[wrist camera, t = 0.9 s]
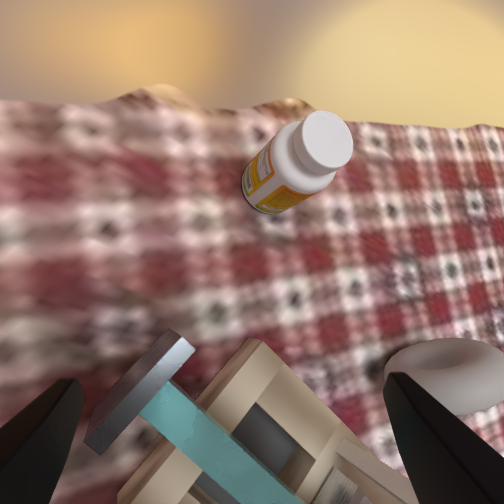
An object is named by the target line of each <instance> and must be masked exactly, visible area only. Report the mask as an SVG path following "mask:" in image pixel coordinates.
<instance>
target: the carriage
mask: <svg viewBox="0 0 504 504" xmlns="http://www.w3.org/2000/svg"><path fill="white" fill-rule="evenodd" d="M194 351H195V349H194V348H193V347H192V346H191V345H190V344H189V343H188V342H187V341H186V340H185V339H184V338H183V337H181V336H180V335H179V334H177V333H176V332H174V331H173V330H171V329H170V328H169V329H168V330H167V331H166V332H165V333H164V334H163V335H162V336H161V337H160V338H159V339H158V340H157V341H156V342H155V343H154V344H153V345H152V346H151V347H150V348H149V349H148V350H147V351H146V352H145V353H144V355H143V356H142V357H141V358H140V359H139V360H138V361H137V362H136V363H135V364H134V365H133V366H132V367H131V368H130V369H129V370H128V371H127V372H126V373H125V374H124V375H123V376H122V377H121V378H120V379H119V380H118V381H117V382H116V383H115V384H114V385H113V387H112V388H111V389H110V390H109V391H108V392H107V393H106V394H105V395H104V396H103V397H102V398H101V399H100V400H99V401H98V402H97V403H96V404H95V405H94V408H93V412H92V415H91V418H90V422H89V425H88V428H87V432H86V435H85V438H84V443H85V444H87V445H88V446H89V447H90V448H92V449H93V450H94V451H95V452H96V453H98V454H99V455H100V456H101V455H102V454H103V452H104V451H105V450H106V449H107V448H108V447H109V446H110V445H111V444H112V442H113V441H114V440H115V439H116V438H117V437H118V436H119V435H120V434H121V432H122V431H123V430H124V429H125V428H126V427H127V426H128V425H129V424H130V422H131V421H132V420H133V419H134V418H135V417H136V416H137V415H138V414H140V415H141V416H142V417H143V418H144V419H145V420H146V421H148V422H149V423H150V424H151V425H152V426H153V427H154V428H155V429H157V430H158V431H159V432H160V433H161V434H162V435H163V436H165V437H166V438H167V439H168V440H169V441H170V442H171V443H172V444H174V445H175V446H176V447H177V448H178V449H179V450H180V451H182V452H183V453H184V454H185V455H186V456H187V457H188V458H190V459H191V460H192V461H193V462H194V463H195V464H196V465H197V466H199V467H200V468H201V469H202V470H203V471H204V472H205V473H207V474H208V475H209V476H210V477H211V478H212V479H213V480H215V481H216V482H217V483H218V484H219V485H220V486H221V487H222V488H224V489H225V490H226V491H227V492H228V493H229V494H230V495H232V496H233V497H234V498H235V499H236V500H237V501H238V502H239V503H241V504H306V503H305V502H304V501H303V500H302V499H301V498H300V497H299V496H298V495H297V494H296V493H295V492H294V491H292V490H291V489H290V488H289V487H288V486H287V485H286V484H285V483H284V482H283V481H282V480H281V479H280V478H278V477H277V476H276V475H275V474H274V473H273V472H272V471H271V470H270V469H269V468H268V467H267V466H265V465H264V464H263V463H262V462H261V461H260V460H259V459H258V458H257V457H256V456H255V455H254V454H253V453H251V452H250V451H249V450H248V449H247V448H246V447H245V446H244V445H243V444H242V443H241V442H240V441H238V440H237V439H236V438H235V437H234V436H233V435H232V434H231V433H230V432H229V431H228V430H227V429H226V428H224V427H223V426H222V425H221V424H220V423H219V422H218V421H217V420H216V419H215V418H214V417H213V416H212V415H210V414H209V413H208V412H207V411H206V410H205V409H204V408H203V407H202V406H201V405H200V404H199V403H197V402H196V401H195V400H194V399H193V398H192V397H191V396H190V395H189V394H188V393H187V392H186V391H185V390H183V389H182V388H181V387H180V386H179V385H178V384H177V383H176V382H175V381H174V380H173V379H172V378H171V377H172V376H173V375H174V374H175V372H176V371H177V370H178V369H179V368H180V367H181V366H182V365H183V364H184V362H185V361H186V360H187V359H188V358H189V357H190V356H191V355H192V354H193V352H194ZM313 504H373V503H372V502H371V501H370V500H369V499H368V498H367V497H366V496H365V493H364V492H363V491H362V490H361V489H360V488H359V487H358V486H357V485H356V484H355V483H353V482H352V481H351V480H350V479H349V478H347V477H346V476H345V475H344V474H342V473H341V472H340V471H339V470H337V469H336V468H335V467H334V469H333V471H332V472H331V474H330V476H329V477H328V479H327V481H326V482H325V484H324V486H323V487H322V489H321V491H320V492H319V494H318V496H317V497H316V499H315V501H314V502H313Z"/></svg>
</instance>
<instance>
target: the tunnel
mask: <svg viewBox="0 0 504 504" xmlns="http://www.w3.org/2000/svg"><path fill="white" fill-rule="evenodd" d="M336 452H337V453H338V454H339V455H340V456H341V457H342V458H343V459H344V460H345V461H347V462H348V463H349V464H351V465H352V466H353V467H355V468H356V469H357V470H359V471H360V472H361V473H363V474H364V475H365V476H367V477H368V478H370V479H371V480H372V481H374V482H375V483H376V484H378V485H379V486H380V487H382V488H383V489H384V490H386V491H387V492H388V493H390V494H391V495H392V496H394V497H395V498H396V499H398V500H399V501H398V503H397V504H419V502H418V500H417V497H416V494H415V492H414V489H413V487H412V484H411V482H410V480H409V479H408V478H406V477H405V476H403V475H402V474H400V473H398V472H397V471H395V470H394V469H392V468H391V467H389V466H387V465H386V464H384V463H383V462H381V461H380V460H378V459H377V458H375V457H373V456H372V455H370V454H369V453H367V452H366V451H364V450H363V449H361V448H359V447H358V446H356V445H355V444H353V443H352V442H350V441H348V440H347V439H345V438H344V437H343V439H342V441H341V442H340V444H339V446H338V447H337V449H336Z"/></svg>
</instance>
